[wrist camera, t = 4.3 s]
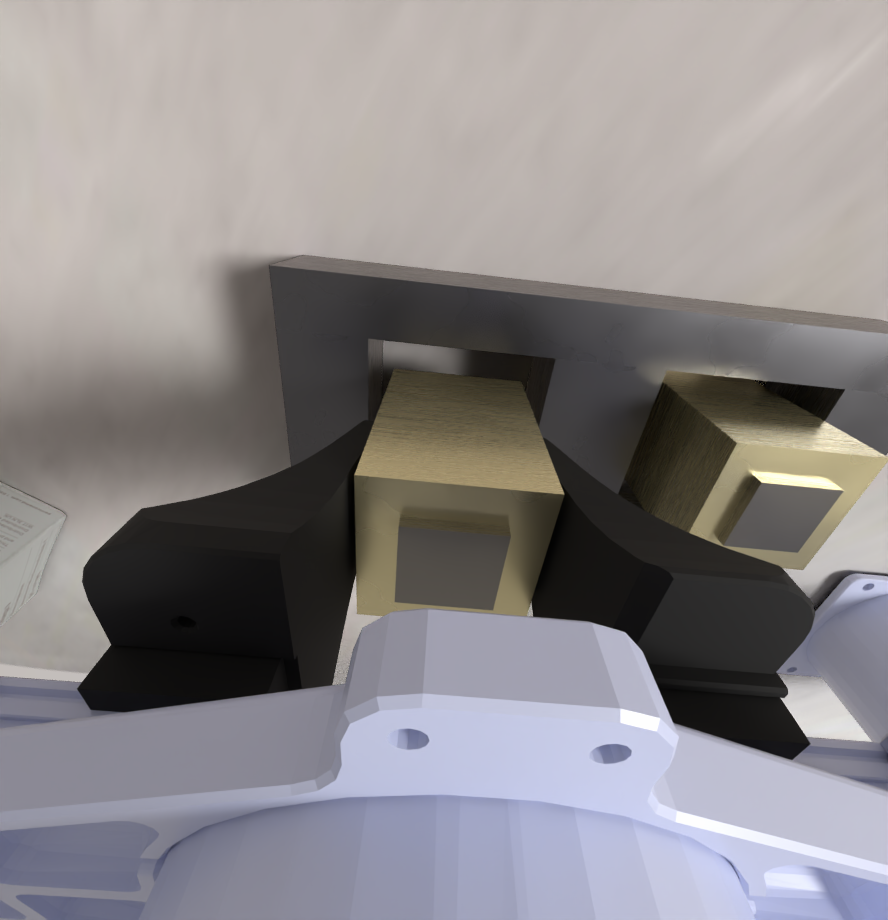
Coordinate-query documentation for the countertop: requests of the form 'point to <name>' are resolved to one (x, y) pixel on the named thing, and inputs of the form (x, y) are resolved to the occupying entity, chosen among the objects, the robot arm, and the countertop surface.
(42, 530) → the supplement box
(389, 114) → the countertop surface
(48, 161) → the countertop surface
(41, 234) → the countertop surface
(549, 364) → the rail
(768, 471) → the seated nut
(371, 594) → the block
